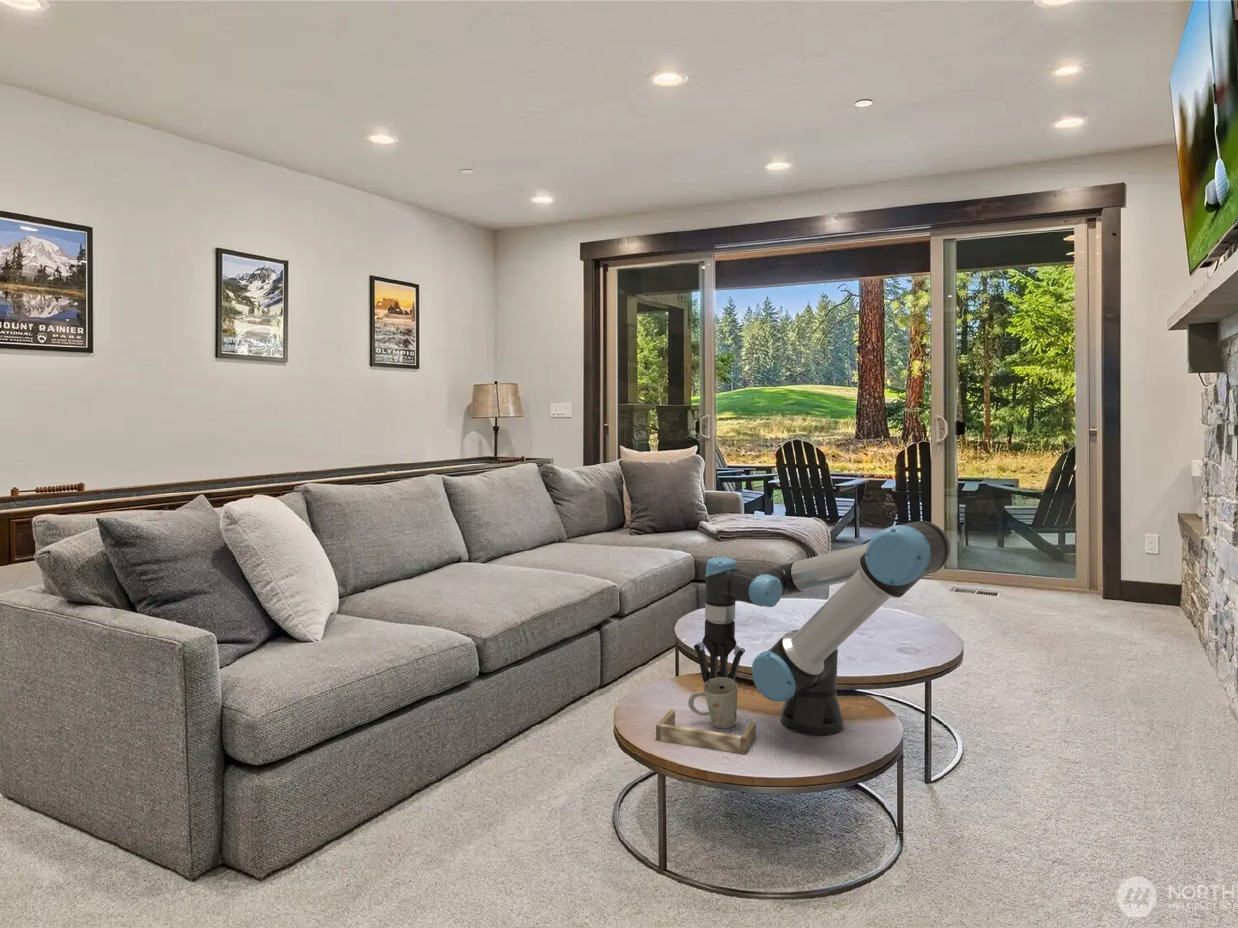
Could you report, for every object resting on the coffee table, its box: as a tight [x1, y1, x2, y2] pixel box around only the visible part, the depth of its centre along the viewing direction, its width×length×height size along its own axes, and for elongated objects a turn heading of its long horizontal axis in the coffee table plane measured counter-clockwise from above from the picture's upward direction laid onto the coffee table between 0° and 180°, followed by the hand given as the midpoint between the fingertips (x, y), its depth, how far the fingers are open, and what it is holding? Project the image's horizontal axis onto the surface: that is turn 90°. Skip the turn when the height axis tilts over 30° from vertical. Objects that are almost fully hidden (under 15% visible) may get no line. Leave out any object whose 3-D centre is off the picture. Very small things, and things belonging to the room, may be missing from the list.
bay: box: [655, 709, 757, 755], centre depth 193 cm, size 21×11×4 cm, turn 68°
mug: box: [688, 676, 739, 729], centre depth 200 cm, size 8×13×10 cm, turn 81°
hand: (717, 710), depth 205 cm, fingers closed
